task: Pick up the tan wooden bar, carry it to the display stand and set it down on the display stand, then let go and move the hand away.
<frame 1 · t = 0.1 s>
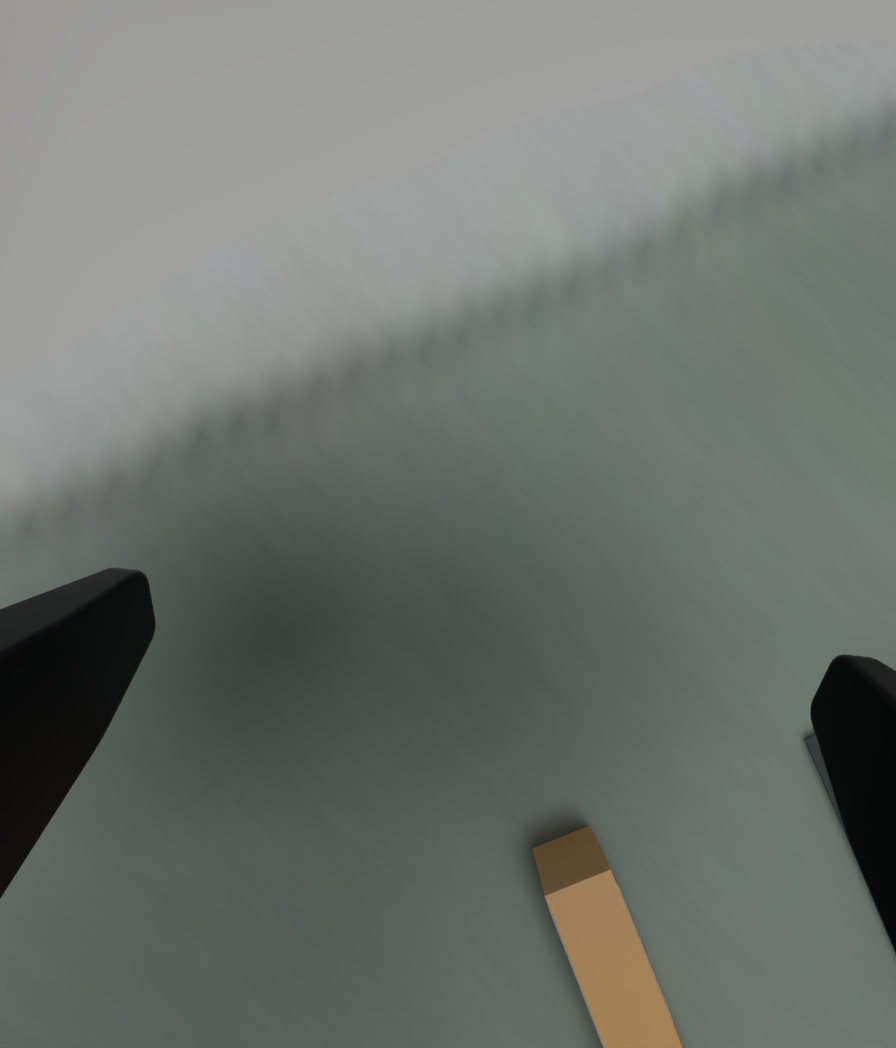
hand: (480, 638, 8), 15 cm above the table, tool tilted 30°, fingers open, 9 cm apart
tan wooden bar: (624, 996, 22), on the table
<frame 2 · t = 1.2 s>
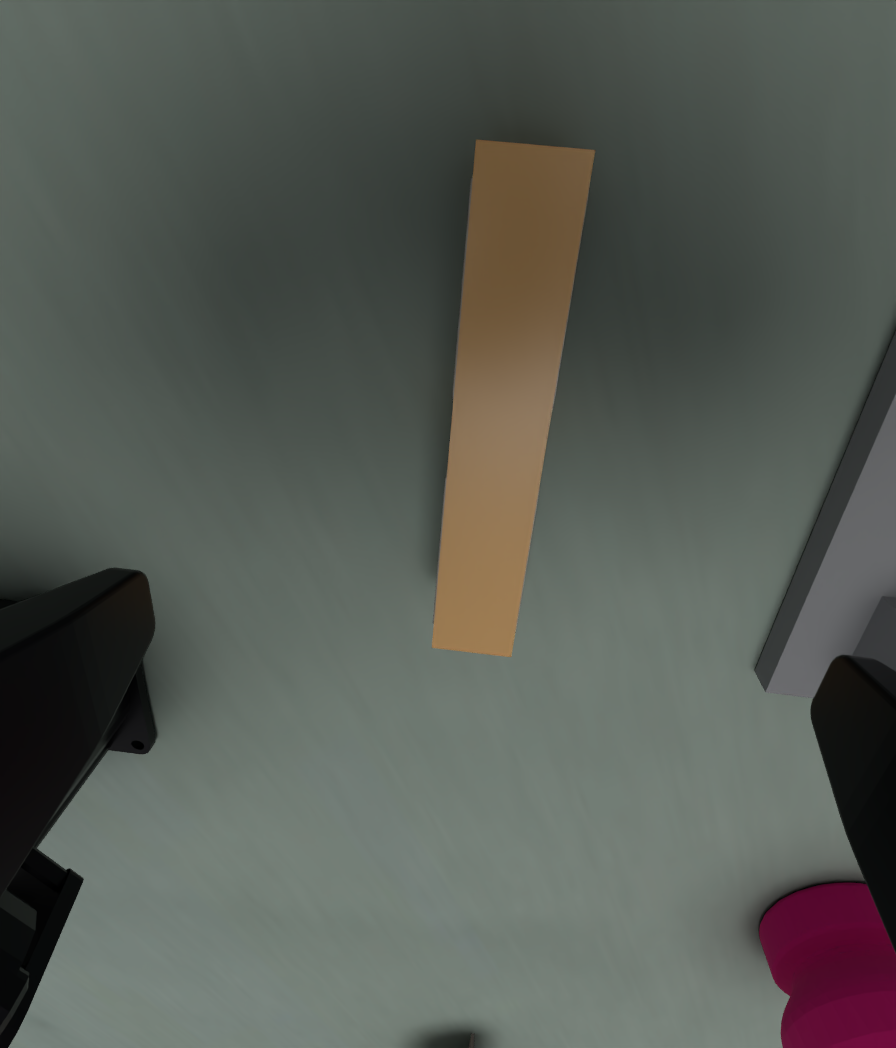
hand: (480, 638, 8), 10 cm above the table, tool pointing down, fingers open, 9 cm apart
pepper mill: (832, 920, 26), on the table
tan wooden bar: (498, 404, 17), on the table
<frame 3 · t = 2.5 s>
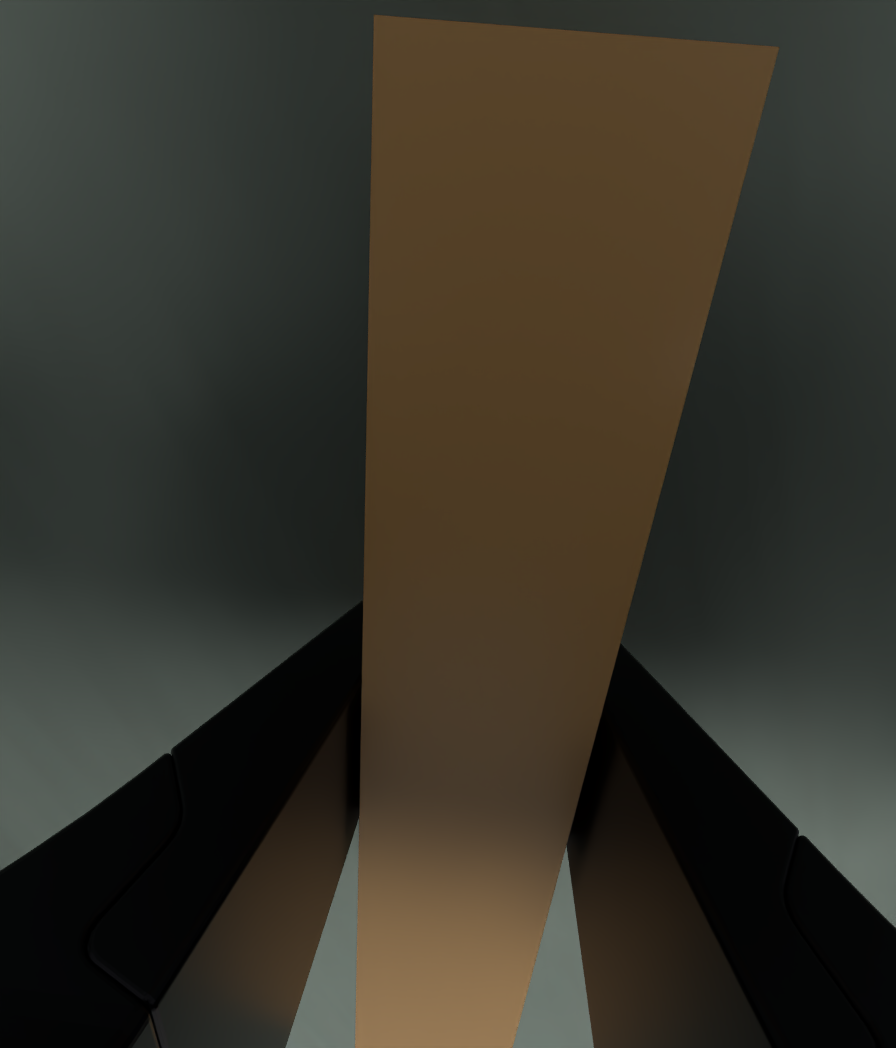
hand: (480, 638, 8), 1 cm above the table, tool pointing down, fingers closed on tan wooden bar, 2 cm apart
tan wooden bar: (481, 589, 9), on the table, touching gripper
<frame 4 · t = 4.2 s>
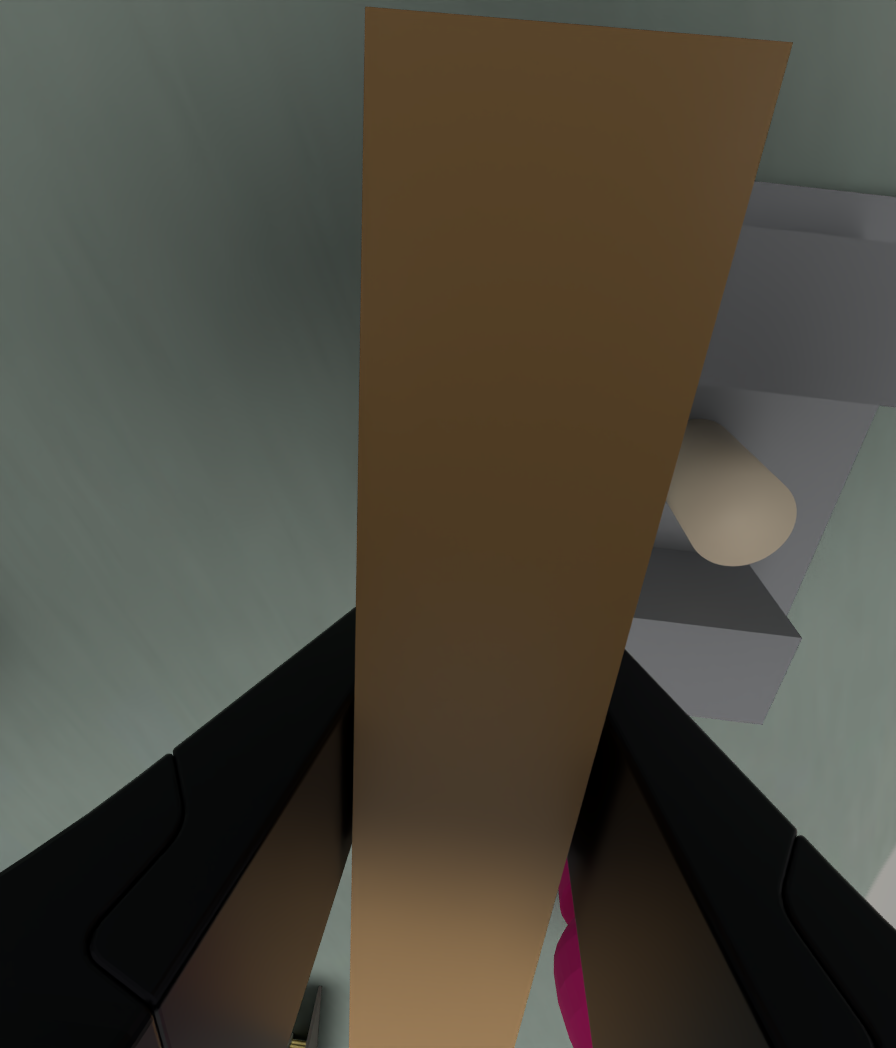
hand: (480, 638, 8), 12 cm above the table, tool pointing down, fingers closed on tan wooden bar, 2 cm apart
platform: (306, 1007, 37), on the table
display stand: (682, 446, 19), on the table
pepper mill: (625, 865, 28), on the table
tan wooden bar: (479, 597, 9), point 11 cm above the table, touching gripper
when the fingers open (7 cm above the table, at t = 5.5 s): tan wooden bar stays where it is, resting on display stand.
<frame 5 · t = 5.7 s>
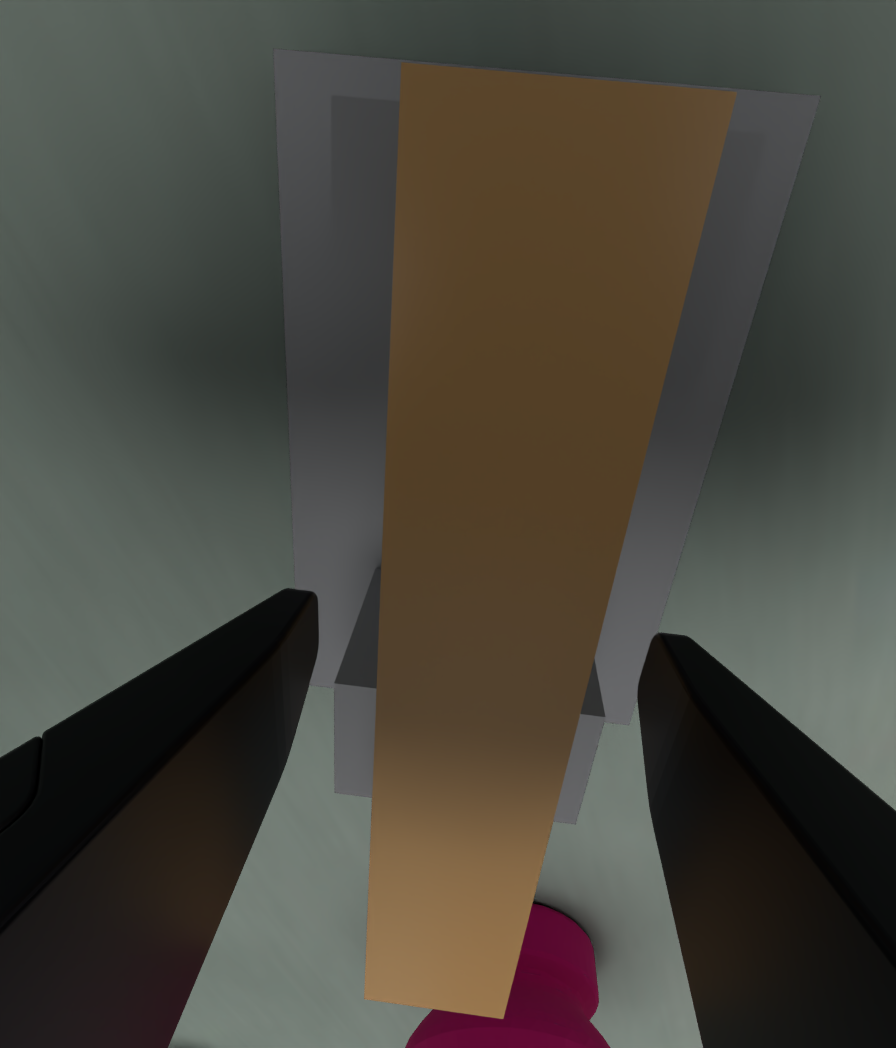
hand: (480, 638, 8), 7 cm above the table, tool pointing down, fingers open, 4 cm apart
display stand: (493, 449, 14), on the table
pepper mill: (509, 941, 24), on the table
tan wooden bar: (483, 568, 10), point 5 cm above the table, touching display stand
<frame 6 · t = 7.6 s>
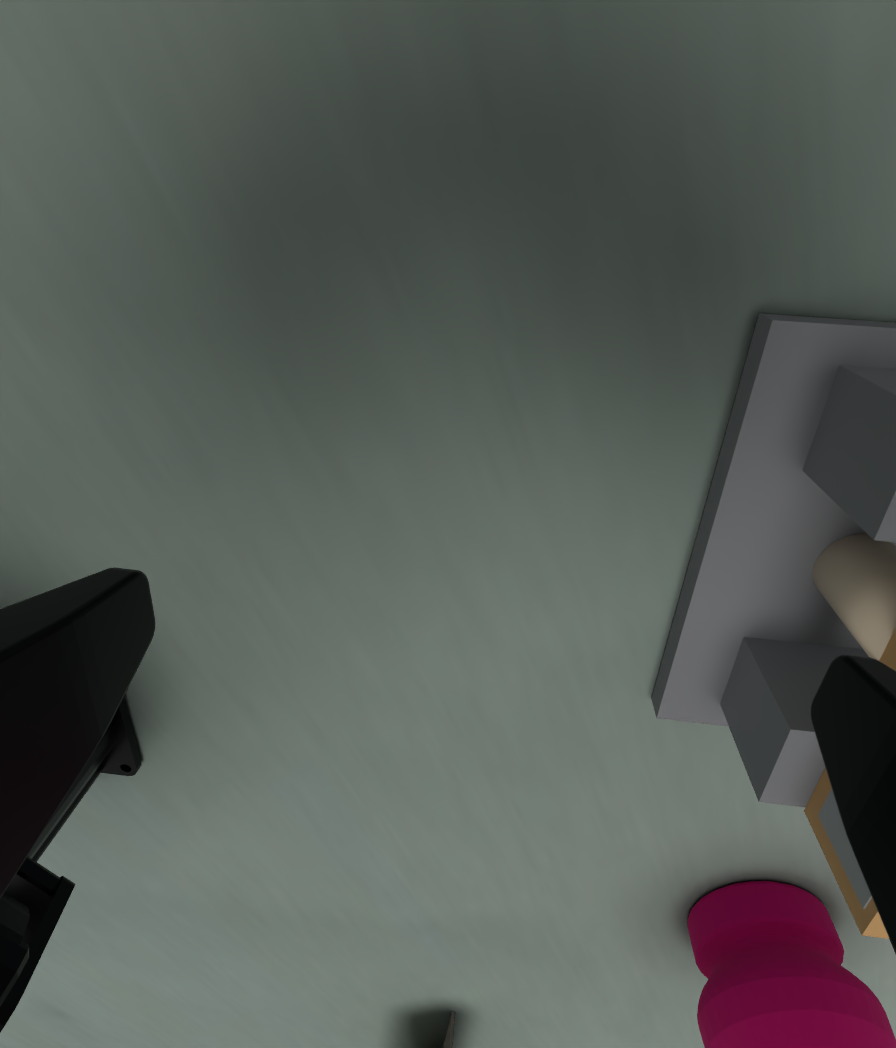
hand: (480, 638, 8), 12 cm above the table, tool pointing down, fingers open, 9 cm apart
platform: (432, 1028, 38), on the table
display stand: (839, 551, 20), on the table
pepper mill: (754, 915, 29), on the table
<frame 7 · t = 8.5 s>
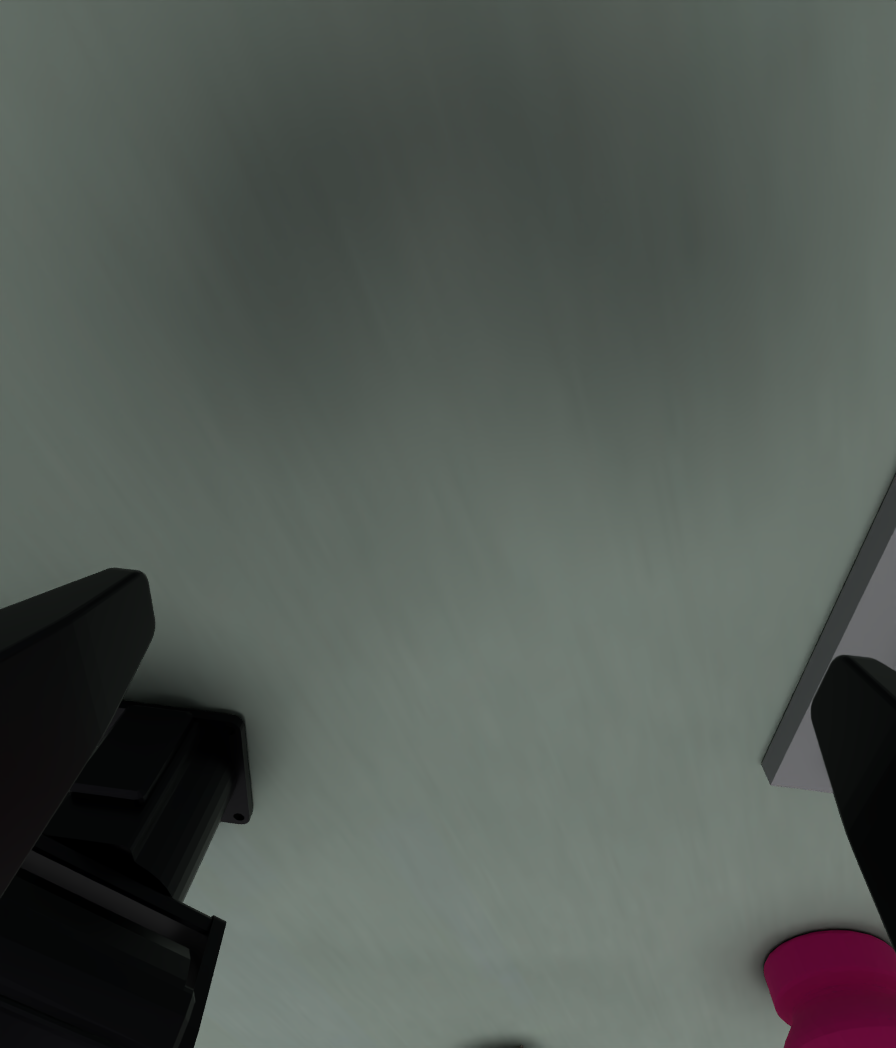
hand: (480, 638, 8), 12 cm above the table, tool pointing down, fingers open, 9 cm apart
pepper mill: (826, 960, 31), on the table
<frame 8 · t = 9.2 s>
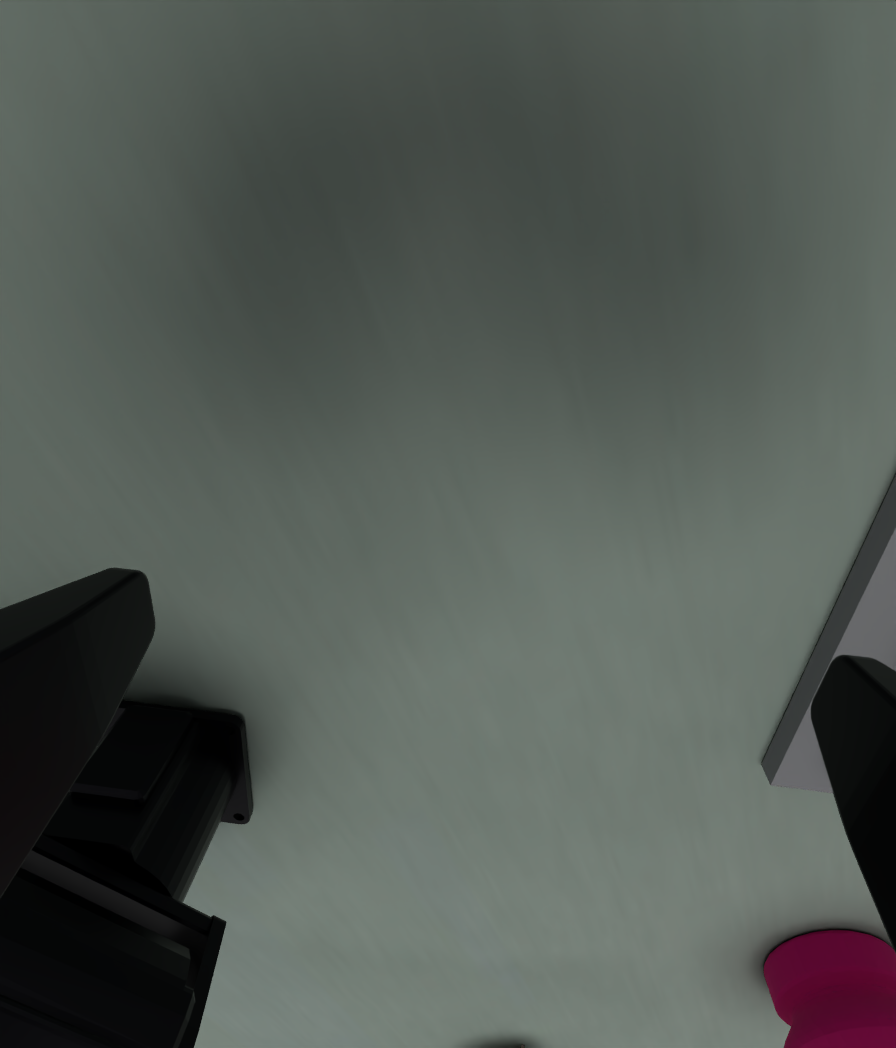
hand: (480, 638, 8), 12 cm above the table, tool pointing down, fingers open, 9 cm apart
pepper mill: (826, 960, 31), on the table
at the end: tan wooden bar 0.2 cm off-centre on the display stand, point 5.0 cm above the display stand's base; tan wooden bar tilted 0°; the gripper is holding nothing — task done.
